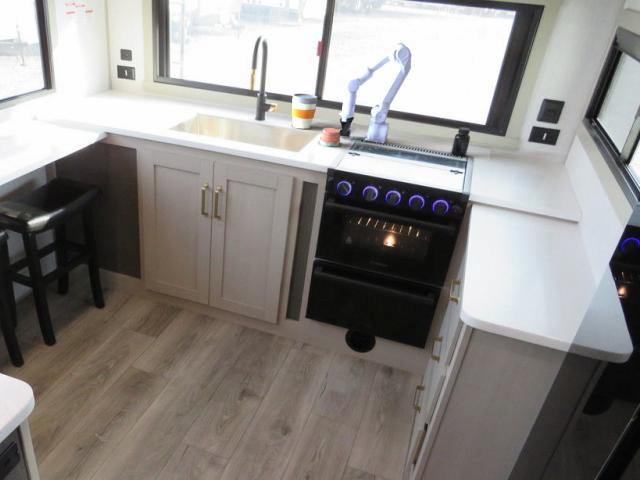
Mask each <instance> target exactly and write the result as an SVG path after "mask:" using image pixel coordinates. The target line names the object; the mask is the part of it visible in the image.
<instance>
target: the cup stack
mask: <svg viewBox="0 0 640 480" xmlns="http://www.w3.org/2000/svg"><path fill="white" fill-rule="evenodd" d="M339 132H340V129H337V128H333V127H326V128H323V130H322V131H321V136H320V137H319V145H321V146H324V147H329V148H336V147H339V146H340V143H341V136H340V133H339Z"/></svg>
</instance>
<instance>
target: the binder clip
mask: <svg viewBox="0 0 640 480" xmlns="http://www.w3.org/2000/svg"><path fill="white" fill-rule="evenodd" d="M339 133H340V137H345V138H350V137H351V133H352V129H350V128H349V129H348V131H347V134H342V127H341V128H340V129H339Z"/></svg>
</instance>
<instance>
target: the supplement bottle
mask: <svg viewBox="0 0 640 480" xmlns="http://www.w3.org/2000/svg"><path fill="white" fill-rule="evenodd" d="M470 131H471V129H470V128H468V127H459V128H458V130H457V132H458V133H456V134H455V135H454V138H453V143H452V147H451V151H450V153H451V155H453V156H456V157H465V156H466V155H467V153H468V149H469V144H470V141H471V136H470V135H469V134H470Z"/></svg>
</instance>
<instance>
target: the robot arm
mask: <svg viewBox="0 0 640 480" xmlns="http://www.w3.org/2000/svg"><path fill="white" fill-rule="evenodd" d="M412 55H413V54H412V53H411V50H410V48H409V47H408V46H406V45H405V44H404V43H402V42H398V43H396V44H394V45H393V46H392V47H391V48H389V49H388V50H387V51H386V52H384V53H383V54H382V55H381V56H380V57H379V58H378V59H376V60H375V61H374V62H373V63H372V64H371V65H369V66H368V65H367V66H366V65H365V66H364V67H363V66H362V67H360V69H359V71H357V72H356V73H355V74H352V75H351V76H350V77H348V78H347V79H346V80H345V82H344V86H345V90H344V95H343V101H342V102H343V103H342V110H341V112H339V116H341V118H339V122H340V127H341V128H342V134H347V131H348V129H350V128H351V125H352V123H353V121H354V120H355V108H356V103H357V96H358V95H357V94H358V90H359V89H360V86H362V85H364V84H365V83H366V82H367V81H369V80H370V79H372V78H373V76H374V73H375V72H376V71H378V70H379V69H380V68H382V67H384V65H386V64H387V63H390V62H396V63H397V66H398V68H397V70H396V72H395V74H394V76H393V77H392V78H391V81H390V83H389V84H388V86H387V87H386V90H385V92H384V93H383V94H382V97H381V98H380V100H378V101H377V103H376V104H375V105H373V107H372V108H371V110H370V115H371V118H370V120H369V124H368V130H367V136H366V137H365V139H364V141H368V142H373V143H378V144H386V143H385V142H386V141H387V140H388V134H389V130H390V123H388V122H386V120H387V118H388V113H389V111H390V107H391V104H392V102H393V101H394V99H395V97H396V96H397V94H398V92H399V90H400V88H401V87H402V86H403V83H404V82H405V80H406V78H407V76H408V75H409V73H410V71H411V69H412Z"/></svg>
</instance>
